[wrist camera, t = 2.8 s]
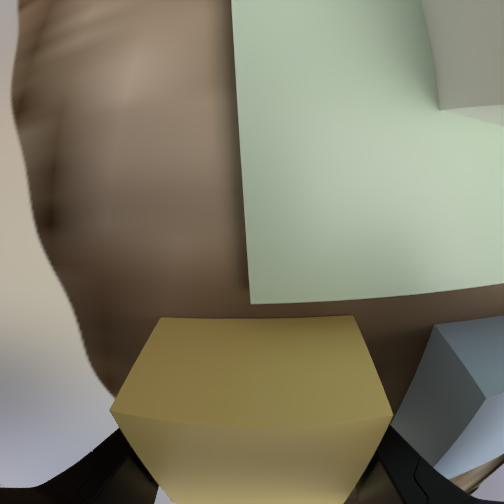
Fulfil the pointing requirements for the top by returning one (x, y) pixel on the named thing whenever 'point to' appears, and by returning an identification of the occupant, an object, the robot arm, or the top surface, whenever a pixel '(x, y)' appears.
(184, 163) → the top surface
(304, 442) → the mustard brick
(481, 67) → the white brick
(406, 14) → the plate
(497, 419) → the blue brick
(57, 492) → the robot arm
